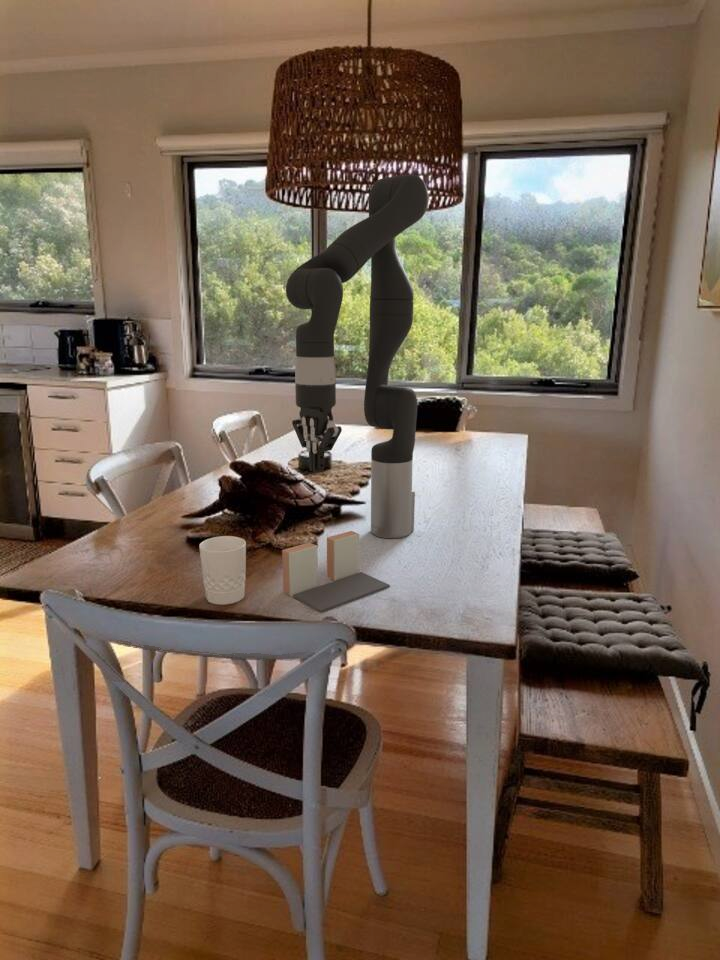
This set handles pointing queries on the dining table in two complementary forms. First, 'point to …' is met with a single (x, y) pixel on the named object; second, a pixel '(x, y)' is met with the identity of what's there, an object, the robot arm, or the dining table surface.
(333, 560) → the tile
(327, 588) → the mat
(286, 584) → the tile
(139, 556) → the dining table surface
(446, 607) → the dining table surface
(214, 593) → the white cup
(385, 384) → the robot arm
